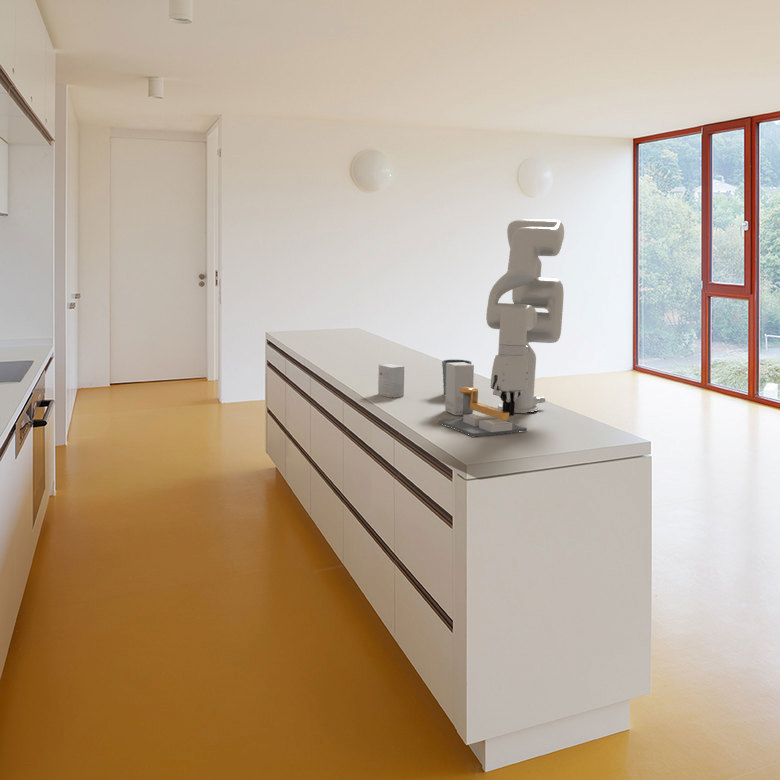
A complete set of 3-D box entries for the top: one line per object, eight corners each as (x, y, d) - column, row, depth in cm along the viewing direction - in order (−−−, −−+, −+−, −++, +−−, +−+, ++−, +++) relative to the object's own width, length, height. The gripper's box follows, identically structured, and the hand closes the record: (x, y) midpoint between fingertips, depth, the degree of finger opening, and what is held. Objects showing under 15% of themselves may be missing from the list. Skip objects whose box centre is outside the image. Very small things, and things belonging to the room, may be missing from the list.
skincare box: (472, 415, 239) (475, 365, 236) (452, 415, 237) (455, 365, 235) (462, 409, 247) (465, 361, 244) (443, 410, 245) (445, 361, 243)
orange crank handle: (455, 406, 229) (456, 387, 228) (470, 404, 232) (471, 386, 231) (498, 420, 211) (499, 400, 210) (513, 419, 214) (514, 399, 213)
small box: (404, 396, 266) (405, 366, 264) (390, 398, 263) (391, 367, 261) (390, 393, 273) (391, 363, 271) (377, 394, 270) (378, 364, 268)
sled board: (489, 418, 235) (490, 391, 233) (527, 432, 219) (529, 402, 217) (438, 423, 226) (439, 394, 225) (474, 437, 210) (476, 406, 209)
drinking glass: (474, 394, 274) (475, 361, 272) (463, 399, 266) (464, 364, 263) (447, 391, 279) (449, 358, 277) (436, 395, 270) (437, 361, 268)
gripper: (524, 348, 223) (520, 410, 226) (482, 349, 216) (478, 414, 219) (541, 351, 216) (537, 415, 220) (498, 353, 209) (494, 419, 212)
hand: (508, 415), depth 219 cm, fingers closed
